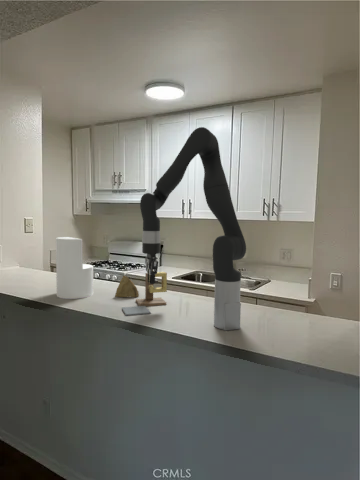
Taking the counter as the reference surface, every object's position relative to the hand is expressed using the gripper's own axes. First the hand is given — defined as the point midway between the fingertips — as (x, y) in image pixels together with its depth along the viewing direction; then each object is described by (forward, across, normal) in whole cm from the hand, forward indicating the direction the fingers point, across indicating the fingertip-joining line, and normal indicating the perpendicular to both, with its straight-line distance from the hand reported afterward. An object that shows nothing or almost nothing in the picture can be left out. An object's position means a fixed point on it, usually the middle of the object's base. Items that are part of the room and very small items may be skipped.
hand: (151, 282), depth 138 cm
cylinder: (+11, +36, +30) cm, 48 cm away
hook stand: (+12, +8, -3) cm, 14 cm away
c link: (+4, 0, -3) cm, 5 cm away
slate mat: (+12, 0, +6) cm, 13 cm away
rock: (+12, +25, +6) cm, 28 cm away
